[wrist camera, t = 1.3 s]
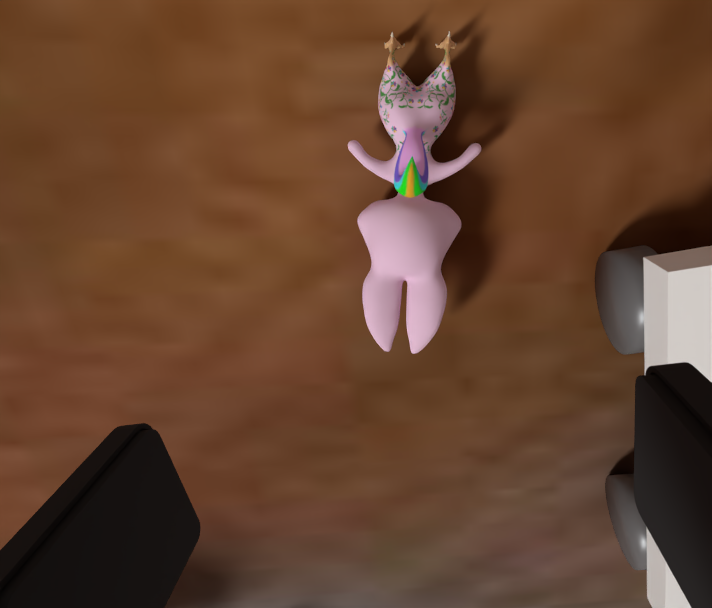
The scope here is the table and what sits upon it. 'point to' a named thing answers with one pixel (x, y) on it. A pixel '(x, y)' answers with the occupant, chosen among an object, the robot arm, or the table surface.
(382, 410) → the table surface
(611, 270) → the trolley
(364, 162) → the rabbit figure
